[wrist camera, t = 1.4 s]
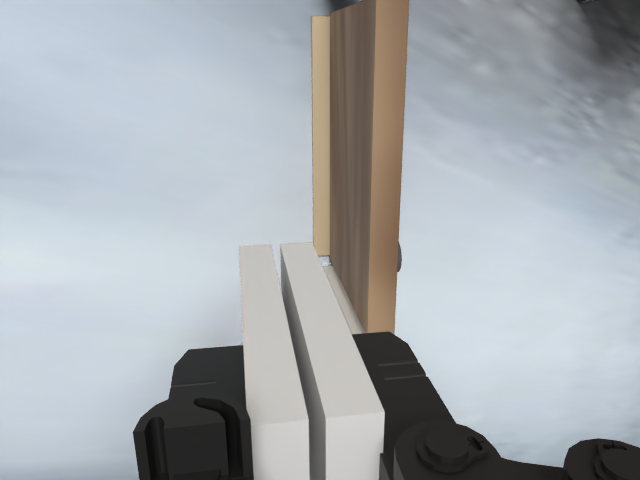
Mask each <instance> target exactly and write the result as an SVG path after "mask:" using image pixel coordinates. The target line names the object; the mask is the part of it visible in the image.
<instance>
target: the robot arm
mask: <svg viewBox="0 0 640 480" xmlns="http://www.w3.org/2000/svg"><path fill="white" fill-rule="evenodd" d="M280 255H281V288H282V293H281V288H280V284H279V279H278V274H277V270H276V265H275V260H274V256H273V251H272V246H271V245H253V246H239V264H240V285H241V306H242V327H243V345H239V346H227V347H215V348H203V349H190V350H188V351H187V352H186V353H185V354H184V356H183V357H182V358H181V359H180V360H179V361H178V362H177V363H176V365H175V366H174V371H173V376H172V382H171V388H170V394H169V399H168V400H166V401H164V402H161V403H159V404H157V405H155V406H154V407H153V408H152V409H150V410H149V411H148V412H147V413H146V414H144V415H143V416H142V417H141V418H140V420H139V422H138V424H137V425H136V427H135V429H134V431H133V436H134V443H135V450H136V458H137V465H138V472H139V479H140V480H640V448H639V447H636V446H633V445H630V444H627V443H624V442H621V441H615V440H607V439H599V438H598V439H591V440H584V441H580V442H578V443H577V444H575V445H574V446H572V447H570V448H569V450H568V452H567V455H566V458H565V461H564V467H563V468H561V467H553V466H545V465H537V464H529V463H522V462H517V461H512V460H507V459H504V458H501V457H500V455H499V453H498V452H497V450H496V449H495V448H494V447H493V445H492V444H491V443H490V442H489V441H488V440H487V439H486V438H485V437H484V436H483V435H481V434H479V433H477V432H476V431H474V430H472V429H470V428H469V427H467V426H463V425H459V424H456V422H455V421H454V419H453V418H452V416H451V414H450V413H449V411H448V409H447V408H446V406H445V404H444V403H443V401H442V399H441V398H440V396H439V394H438V393H437V391H436V390H435V388H434V386H433V385H432V383H431V381H430V380H429V378H428V377H426V373H425V371H424V370H423V368H422V366H421V365H420V363H418V360H417V358H416V357H415V355H414V353H413V352H412V350H411V348H410V347H409V345H408V344H407V343H406V342H404V341H403V340H401V339H400V338H398V337H397V336H395V335H394V334H392V333H391V332H389V331H387V332H375V333H362V334H351V332H350V330H349V327H348V325H347V323H346V320H345V318H344V316H343V313H342V311H341V309H340V306H339V304H338V302H337V299H336V297H335V295H334V292H333V290H332V288H331V285H330V283H329V281H328V278H327V276H326V274H325V271H324V269H323V267H322V264H321V262H320V260H319V257H318V255H317V253H316V251H315V248H314V246H313V244H312V242H307V243H289V244H280Z"/></svg>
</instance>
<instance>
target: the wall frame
mask: <svg viewBox="0 0 640 480" xmlns="http://www.w3.org/2000/svg"><path fill="white" fill-rule="evenodd" d="M311 35H312V146H313V246H314V248H315V251H316V253H317V255H318V256H323V255H330V16H311ZM323 269H324V271H325V274H326V276H327V278H328V281H329V283H330V285H331V288H332V290H333V292H334V295H335V297H336V299H337V302H338V304H339V306H340V309H341V311H342V313H343V316H344V318H345V320H346V323H347V325H348V327H349V330H350V332H351V334H362V333H365V331H364V329H363V327H362V325H361V323H360V321H359V319H358V316H357V314H356V312H355V310H354V308H353V306H352V304H351V302H350V300H349V298H348V296H347V294H346V291H345V289H344V287H343V285H342V283H341V281H340V279H339V277H338V275H337V273H336V271H335V269H334V267H333V266H323Z"/></svg>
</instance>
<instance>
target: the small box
mask: <svg viewBox="0 0 640 480" xmlns="http://www.w3.org/2000/svg"><path fill="white" fill-rule="evenodd" d="M578 1H579V2H580V3H587V2H591V1H597V0H578Z"/></svg>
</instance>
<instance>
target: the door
mask: <svg viewBox="0 0 640 480" xmlns="http://www.w3.org/2000/svg"><path fill="white" fill-rule="evenodd" d="M408 16H409V0H364V1H361V2H359V3H356V4H353V5H350V6H347V7H345V8H342V9H339V10H336V11H334V12H331V13H330V260H331V262H332V264H333V267H334V269H335V271H336V273H337V275H338V277H339V279H340V281H341V283H342V285H343V287H344V289H345V291H346V294H347V296H348V298H349V300H350V302H351V304H352V306H353V308H354V310H355V312H356V314H357V316H358V319H359V321H360V323H361V325H362V327H363V329H364V331H365V333H375V332H387V331H389V332H391V333H392V334H394V329H395V307H396V284H397V272H399V271H400V268H401V261H402V257H401V248H400V245H399V242H398V240H399V217H400V195H401V173H402V150H403V128H404V106H405V83H406V61H407V39H408Z"/></svg>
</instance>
